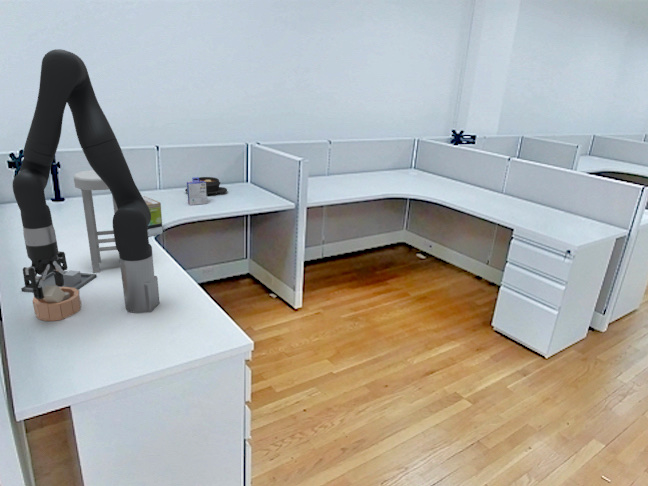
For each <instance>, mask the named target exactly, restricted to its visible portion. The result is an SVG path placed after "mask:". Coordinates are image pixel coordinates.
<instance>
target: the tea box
mask: <svg viewBox="0 0 648 486" xmlns="http://www.w3.org/2000/svg"><path fill="white" fill-rule="evenodd" d="M142 197H143V199H144V201H145V202H146V204H147V206H148V208H149V210H150V212H151V221H150V223H149V225H148V226H147V231H148V238H149V237H152V236H158V235H162V234H163V216H162V205H161V204H162V203H161V202H160V201H158V200H155V199H153V198H150V197H148V196H145V195H144V196H142Z"/></svg>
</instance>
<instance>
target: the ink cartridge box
mask: <svg viewBox="0 0 648 486" xmlns="http://www.w3.org/2000/svg"><path fill="white" fill-rule="evenodd" d="M193 179H198V180H193ZM186 189H187V192H186V193H187V204H188V206H195V205H207V204H208V197H207V196H208V195H206V182H205V181H199V177H192V180H191V181H186Z"/></svg>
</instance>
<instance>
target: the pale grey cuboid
mask: <svg viewBox="0 0 648 486" xmlns="http://www.w3.org/2000/svg"><path fill="white" fill-rule="evenodd" d="M64 293H65V296H64V298H63V300H62V301H65V300H68V299H69V298H71V297H70V293H68V292H64Z"/></svg>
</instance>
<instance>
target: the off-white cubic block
mask: <svg viewBox="0 0 648 486" xmlns="http://www.w3.org/2000/svg"><path fill="white" fill-rule="evenodd" d="M43 295H44V298H43V299H44V300H45V301H46V302H47V303H57V302H62V300H63V298H64V296H65V293H64V292H63V291H62V290H61V289H60V288H59V287H58V286H54V285H45V287H44V289H43Z"/></svg>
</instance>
